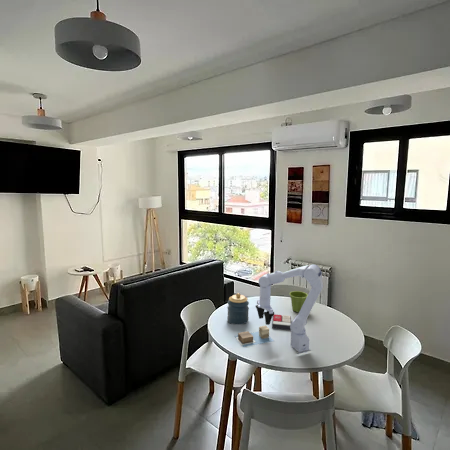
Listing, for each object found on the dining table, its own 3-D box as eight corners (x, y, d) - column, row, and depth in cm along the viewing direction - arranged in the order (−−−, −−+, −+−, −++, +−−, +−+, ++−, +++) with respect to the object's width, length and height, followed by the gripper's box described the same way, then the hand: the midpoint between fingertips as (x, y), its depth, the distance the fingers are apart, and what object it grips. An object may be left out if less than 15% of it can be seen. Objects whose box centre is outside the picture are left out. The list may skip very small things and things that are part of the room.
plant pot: (285, 308, 203) (285, 292, 201) (299, 305, 208) (299, 290, 206) (296, 315, 192) (297, 298, 191) (310, 312, 197) (311, 295, 196)
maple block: (268, 337, 162) (269, 328, 161) (262, 338, 160) (262, 330, 160) (265, 334, 165) (265, 325, 165) (258, 335, 164) (259, 326, 163)
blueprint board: (274, 342, 159) (274, 340, 158) (243, 348, 152) (243, 346, 152) (263, 332, 170) (263, 330, 170) (234, 337, 163) (234, 335, 163)
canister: (225, 324, 179) (225, 296, 176) (229, 315, 191) (230, 288, 189) (246, 327, 176) (247, 298, 173) (250, 317, 188) (250, 290, 186)
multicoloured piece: (291, 315, 185) (291, 325, 170) (290, 321, 185) (291, 332, 171) (273, 313, 187) (272, 323, 172) (272, 320, 187) (271, 330, 173)
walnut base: (253, 341, 157) (253, 336, 157) (242, 343, 155) (242, 338, 155) (248, 336, 163) (248, 331, 162) (238, 338, 161) (238, 332, 160)
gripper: (252, 293, 165) (251, 316, 167) (264, 303, 152) (264, 328, 154) (263, 291, 168) (262, 314, 170) (277, 301, 154) (276, 326, 156)
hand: (264, 321), depth 162 cm, fingers open, 7 cm apart
